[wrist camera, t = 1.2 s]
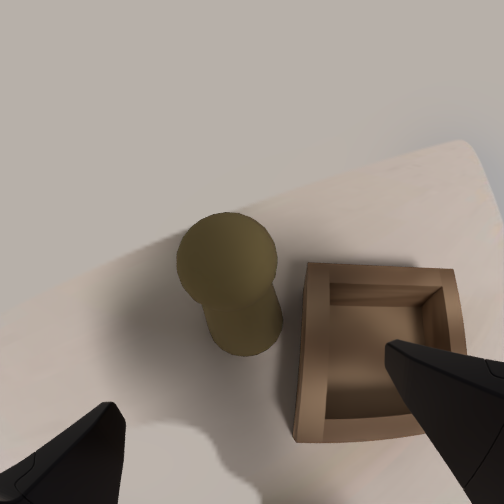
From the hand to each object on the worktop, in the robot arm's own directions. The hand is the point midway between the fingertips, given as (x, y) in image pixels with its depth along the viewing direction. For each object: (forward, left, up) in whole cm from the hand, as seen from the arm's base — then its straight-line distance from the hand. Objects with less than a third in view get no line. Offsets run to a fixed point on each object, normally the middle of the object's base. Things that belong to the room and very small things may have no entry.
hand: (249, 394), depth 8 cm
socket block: (+4, -8, -13) cm, 16 cm away
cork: (+7, +2, -13) cm, 15 cm away
